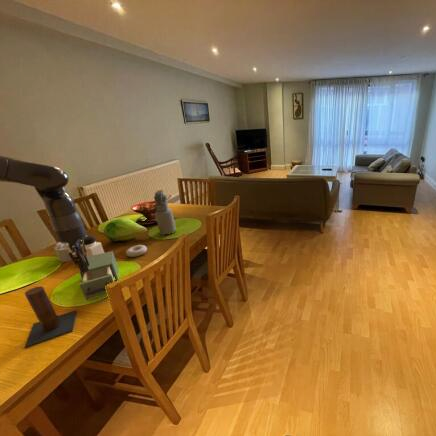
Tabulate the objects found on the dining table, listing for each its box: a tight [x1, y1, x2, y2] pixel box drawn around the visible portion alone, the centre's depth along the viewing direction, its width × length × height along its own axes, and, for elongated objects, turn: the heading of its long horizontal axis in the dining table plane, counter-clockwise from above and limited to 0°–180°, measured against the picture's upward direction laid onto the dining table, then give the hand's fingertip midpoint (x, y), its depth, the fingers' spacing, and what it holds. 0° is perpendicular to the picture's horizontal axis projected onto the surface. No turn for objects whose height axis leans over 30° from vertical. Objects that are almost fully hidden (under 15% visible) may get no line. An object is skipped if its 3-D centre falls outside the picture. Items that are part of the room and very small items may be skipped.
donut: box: [125, 244, 148, 258], centre depth 133 cm, size 10×4×10 cm
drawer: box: [79, 265, 115, 301], centre depth 102 cm, size 17×10×8 cm, turn 35°
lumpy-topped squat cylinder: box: [53, 242, 73, 263], centre depth 130 cm, size 10×13×9 cm
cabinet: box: [78, 250, 119, 282], centre depth 111 cm, size 14×12×10 cm
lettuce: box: [103, 217, 148, 243], centre depth 148 cm, size 15×22×15 cm
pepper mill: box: [24, 286, 61, 332], centre depth 83 cm, size 4×4×16 cm
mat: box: [24, 309, 78, 349], centre depth 86 cm, size 12×12×1 cm
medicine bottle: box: [83, 235, 105, 257], centre depth 129 cm, size 7×7×12 cm
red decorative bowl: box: [130, 195, 172, 225], centre depth 176 cm, size 28×24×16 cm
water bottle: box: [153, 189, 177, 236], centre depth 154 cm, size 10×10×28 cm
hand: (85, 268), depth 87 cm, fingers open, 3 cm apart
